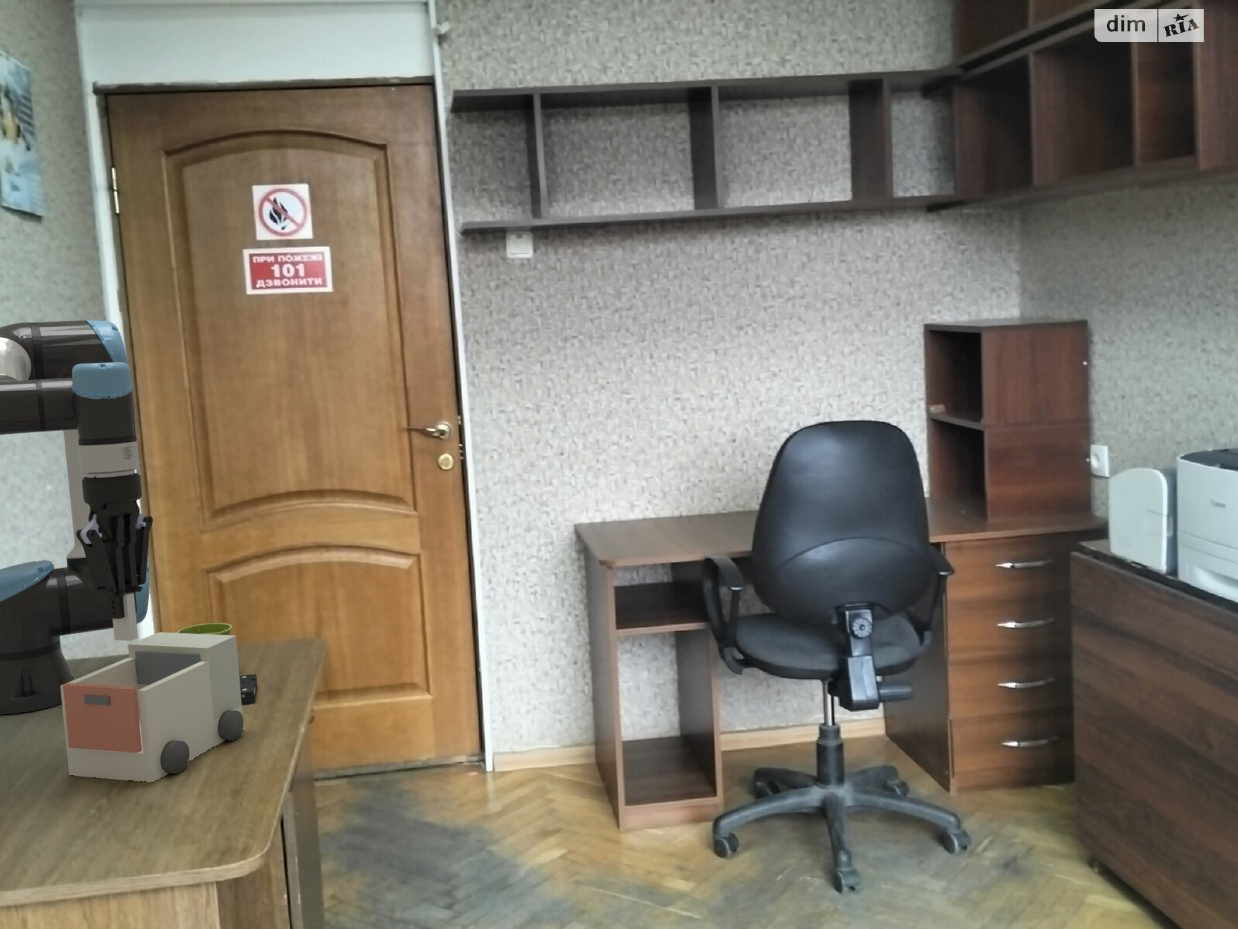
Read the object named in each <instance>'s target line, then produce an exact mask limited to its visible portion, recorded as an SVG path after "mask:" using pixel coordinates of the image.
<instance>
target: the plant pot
mask: <svg viewBox="0 0 1238 929" xmlns="http://www.w3.org/2000/svg"><path fill="white" fill-rule="evenodd" d="M232 629H233V625H232V624H229V623H226V622H213V623H211V622H210V623H200V624H199V623H198V624H194V625H190V626H187V627H183V628H180V629H178V630H177V631H176V633H188V634H211V635H231V634H230V633H231V630H232Z"/></svg>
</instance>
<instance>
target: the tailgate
mask: <svg viewBox="0 0 1238 929" xmlns="http://www.w3.org/2000/svg"><path fill="white" fill-rule="evenodd" d="M63 691H64V701H65V711H66V722H67V732H68V742H69V748H78V749H91V750H104V751H117V752H129V753H138V752H140V751H142V746H141V736H140V725H139V714H138V703H137V692H136V687H131V686H114V685H97V684H80V683H67V684H64V685H63Z"/></svg>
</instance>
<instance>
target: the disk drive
mask: <svg viewBox="0 0 1238 929" xmlns="http://www.w3.org/2000/svg"><path fill="white" fill-rule="evenodd" d="M257 678H258V677H257V674H256V673H253V674H251V673H250V674H245V675H244V674H242V675H239V679H240V691H241V704H242V706H243V705H244V706H245V705H250V704H255V703H254V702H256V697H257V691H258V679H257Z"/></svg>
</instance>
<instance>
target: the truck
mask: <svg viewBox="0 0 1238 929" xmlns="http://www.w3.org/2000/svg"><path fill="white" fill-rule="evenodd" d="M237 644H238V643H237V635H235V634H233V635H231V634H230V635H211V634H188V633H177V632H161V631H160V632H159V631H158V632H156V633H153V634H151V635H148V636H146V637H143V638H141V639H137V640H136V641H133V642H130V643H129V644H127V648H128V649H127V650H128V657H126V658H124V659H122V660H120V661H117V662H115V663H112V664H110V665H107V666H105V667H103V668H99V669H97V670H95V671H93V672H90V673H87V674H86V675H83V676H81V677H78V678H75V680H73V681H71V682H68V683H80V684H97V685H114V686H131V687H136V692H137V703H138V714H139V725H140V736H141V746H142V751H140V752H138V753H129V752H117V751H104V750H91V749H78V748H69V742H68V732H67V722H66V711H65V701H64V691H63V685H64V684H63V685H61V686H60V688H61V698H62V703H61V708H62V716H63V717H62V718H63V727H64V737H65V738H64V739H65V747H66V758H67V766H68V769H67V770H68V776H70V775H74V776H73V777H84V778H93V777H96V779H105V778H106V779H108V780H119V781H128V780H133V781H132V782H140V781H143V783H151V782H154V781H155V782H157V781H159V780H160V779H162V778H164V777H166V776H168V775H169V774H180V773H182V772H183V771H184V770H185V769H186V768H187V765H188V763H190V762H191V761H193V760H195V759H196V758H195V757H197V756H198V757H200V756H201V755H200V754H202V753H203V754H205V753H206V751H207V750H208V749H210V750H212V749H213V748H212V747H213V746H215V747H217V746H218V745H217V744H219V743H221V744H222V743H224V742H225V740H226V741H236V740H237V739H239V738H240V736H241V735H242V733H243V731H244V730H243V729H244V716H243V705H242V704H241V691H240V679H239V676H240V669H239V657H238V654H239V653H238V645H237ZM66 684H67V683H66ZM242 730H243V731H242ZM235 739H236V740H235ZM223 741H224V742H223ZM216 745H217V746H216ZM219 745H220V744H219ZM211 748H212V749H211ZM204 752H205V753H204ZM207 752H208V751H207ZM203 754H202V755H203ZM199 755H200V756H199ZM198 757H197V758H198ZM194 758H195V759H194ZM190 760H191V761H190ZM189 761H190V762H189ZM168 773H169V774H168ZM161 777H162V778H161ZM156 780H157V781H156ZM144 781H146V782H144ZM155 782H154V783H155Z"/></svg>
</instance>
